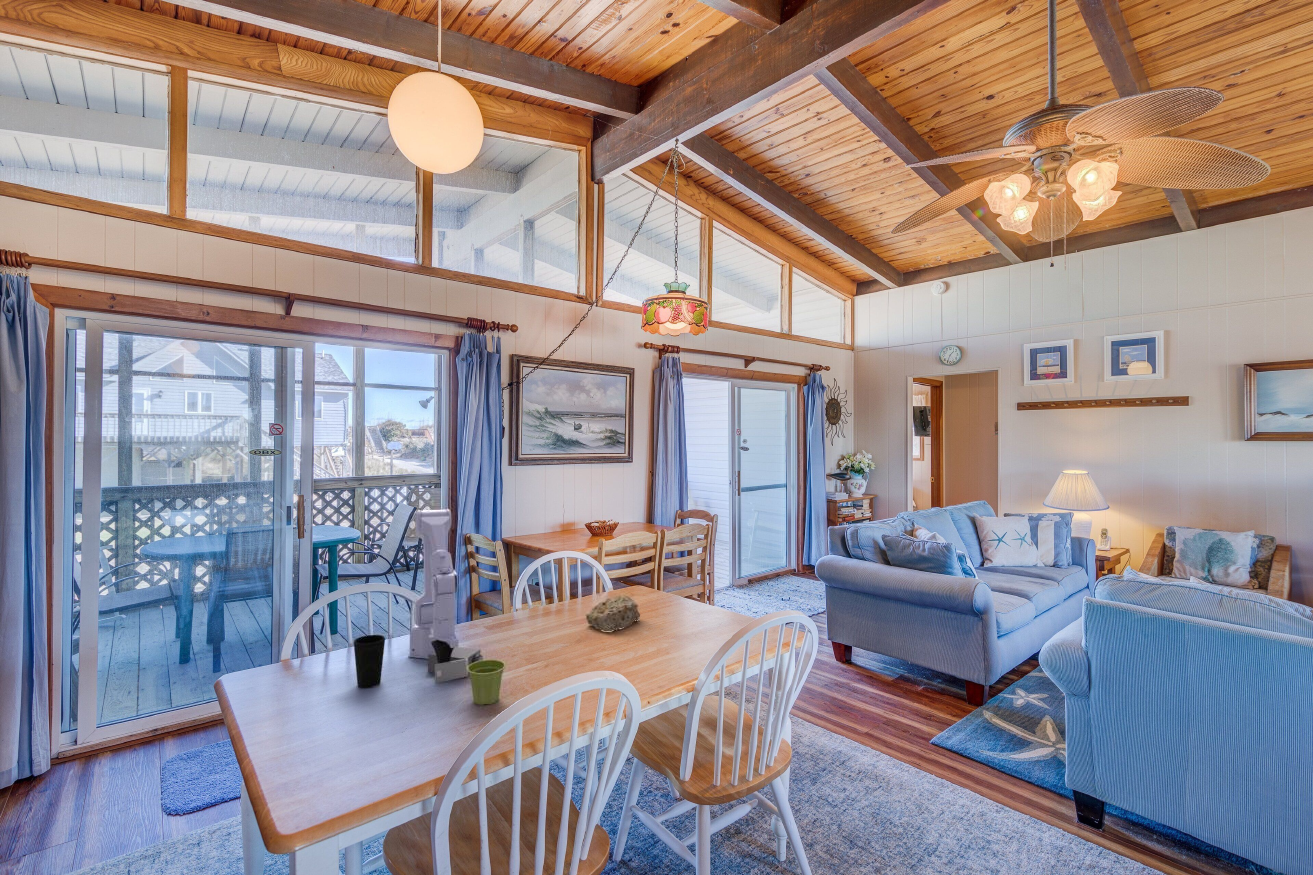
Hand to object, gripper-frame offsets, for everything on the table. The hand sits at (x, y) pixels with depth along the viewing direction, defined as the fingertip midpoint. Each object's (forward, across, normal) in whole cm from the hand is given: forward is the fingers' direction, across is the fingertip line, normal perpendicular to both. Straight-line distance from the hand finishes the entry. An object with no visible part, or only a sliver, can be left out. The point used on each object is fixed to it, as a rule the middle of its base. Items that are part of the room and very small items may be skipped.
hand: (443, 666), depth 171 cm
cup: (+3, -9, -17) cm, 19 cm away
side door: (+3, +3, +1) cm, 4 cm away
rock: (+4, -10, +66) cm, 67 cm away
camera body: (+3, -4, +5) cm, 7 cm away
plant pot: (+3, +20, +3) cm, 21 cm away
